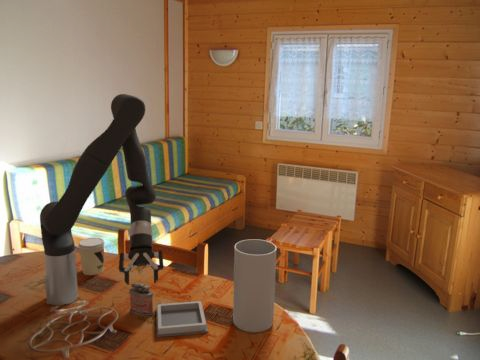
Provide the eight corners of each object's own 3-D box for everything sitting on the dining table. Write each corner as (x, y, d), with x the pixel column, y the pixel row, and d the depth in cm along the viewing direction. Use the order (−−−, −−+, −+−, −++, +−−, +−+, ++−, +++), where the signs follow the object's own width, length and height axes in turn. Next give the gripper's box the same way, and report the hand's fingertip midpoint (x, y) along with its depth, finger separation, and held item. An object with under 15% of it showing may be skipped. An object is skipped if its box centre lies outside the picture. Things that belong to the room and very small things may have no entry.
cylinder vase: (233, 311, 142) (235, 238, 136) (272, 312, 142) (275, 239, 136) (231, 333, 130) (233, 254, 124) (274, 334, 130) (277, 256, 124)
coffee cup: (101, 276, 164) (99, 246, 161) (76, 275, 164) (74, 245, 161) (109, 266, 173) (107, 237, 170) (85, 265, 173) (83, 236, 170)
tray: (156, 337, 127) (156, 329, 126) (156, 310, 141) (155, 303, 141) (208, 332, 130) (208, 325, 129) (202, 307, 144) (202, 300, 144)
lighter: (155, 312, 140) (154, 283, 138) (150, 317, 137) (149, 288, 135) (133, 307, 143) (132, 279, 140) (127, 312, 140) (126, 284, 137)
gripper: (118, 233, 145) (117, 280, 137) (162, 231, 147) (164, 277, 139) (120, 242, 151) (119, 288, 143) (162, 240, 154) (164, 285, 146)
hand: (141, 283), depth 141 cm, fingers open, 8 cm apart
